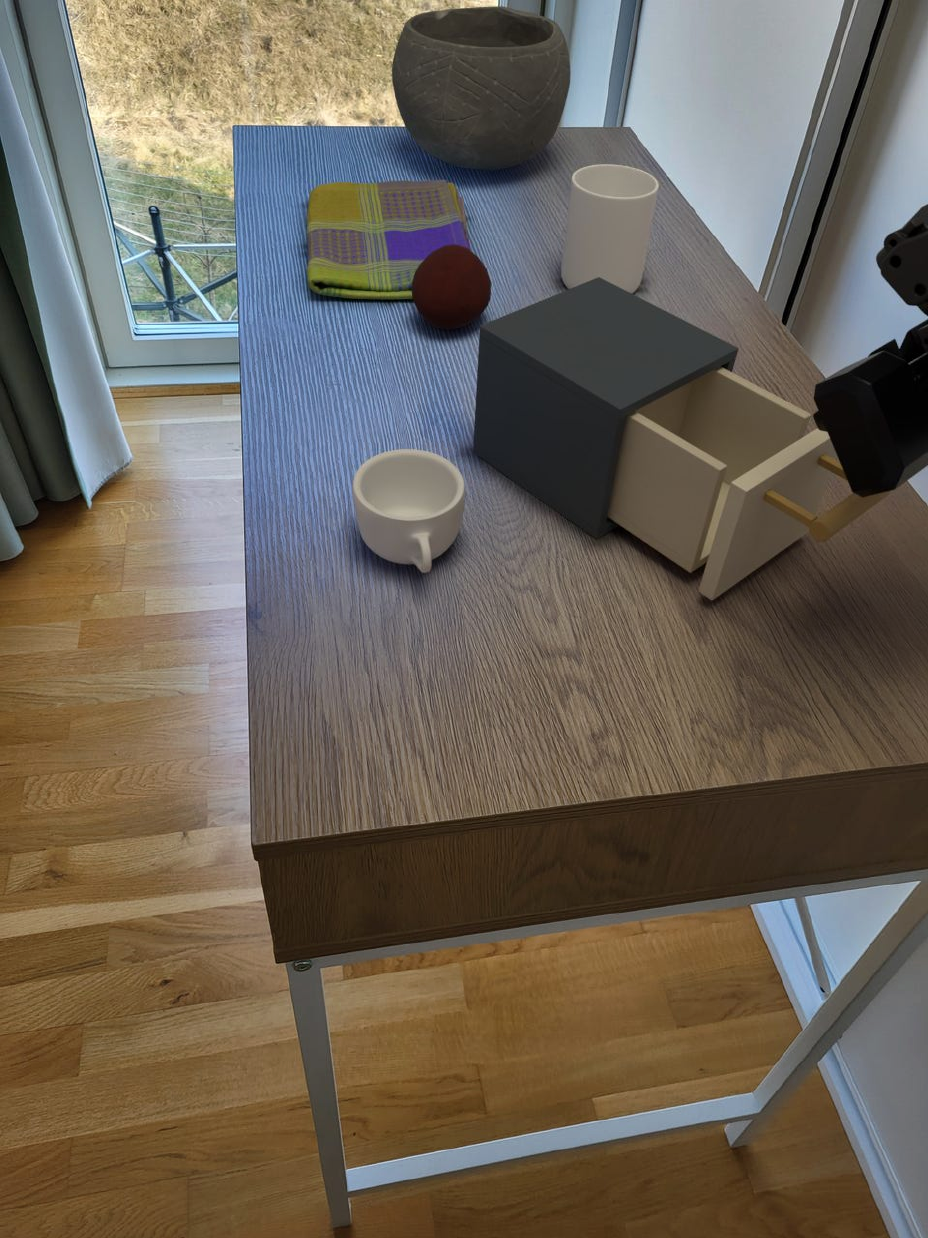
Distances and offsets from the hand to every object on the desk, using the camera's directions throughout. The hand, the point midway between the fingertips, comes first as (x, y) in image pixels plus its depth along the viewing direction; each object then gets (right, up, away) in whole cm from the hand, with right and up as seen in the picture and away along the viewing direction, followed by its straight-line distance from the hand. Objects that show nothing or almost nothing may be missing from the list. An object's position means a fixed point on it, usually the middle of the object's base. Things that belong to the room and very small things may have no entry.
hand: (818, 420), depth 58 cm
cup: (-6, +23, +41) cm, 48 cm away
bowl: (-20, +45, +61) cm, 79 cm away
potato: (-23, +16, +33) cm, 43 cm away
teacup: (-25, -8, +10) cm, 28 cm away
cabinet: (-12, 0, +18) cm, 21 cm away
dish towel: (-30, +27, +44) cm, 59 cm away
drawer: (-3, -6, +11) cm, 13 cm away
